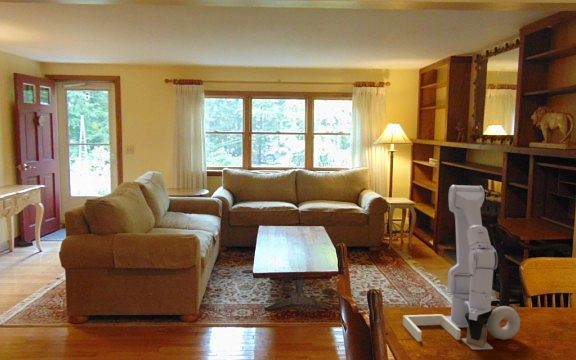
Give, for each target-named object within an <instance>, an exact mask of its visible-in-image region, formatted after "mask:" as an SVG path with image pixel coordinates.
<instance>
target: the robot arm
mask: <svg viewBox="0 0 576 360" xmlns="http://www.w3.org/2000/svg"><path fill="white" fill-rule="evenodd" d="M448 189H449V190H448V208H449V209H448V210H449V211H450V212H451V213H453V214H454V215H453V216H454V220H455V245H456V247H455V250H456V264H454V266H452V267H451V268H450V269H449V270H448V272H447V283H446V284H447V285H446V287H447V291H448V292H449V294H450V295H452V296H451V308H450V311H451V312H450V315H444V316H445V317H446V318H447V319H448V320H450V321H451V322H452V323H453V324H454V325H455V326H457V327H458V328H459V329H461V328H467V326H468V325H469V330H470V336H471V339H474V340H478V341H479V339H480V337H481V332H482V328H483V326H484V324H485V325H487V321H488V319H489V317H490V315H491V313H492V312H493V310H494V309H492V305H491V304H492V292H493V291H492V290H493V279H494V278H493V277H494V270H496V269H497V267H498V262H499V261H498V259H499V258H498V253H497V250H496V248H494V246H493V245H491V244H492V243H491V240H490V236H489V232H488V229H487V228H486V227H485V226H483V222H482V220H483V219H482V214H481V212H482V211H481V208H482V206H483V203H484V202H485V190H484V187H483V186H482V185H464V184H463V185H462V184H461V185H460V184H459V185H458V184H452V185H450V187H449V188H448Z"/></svg>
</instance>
